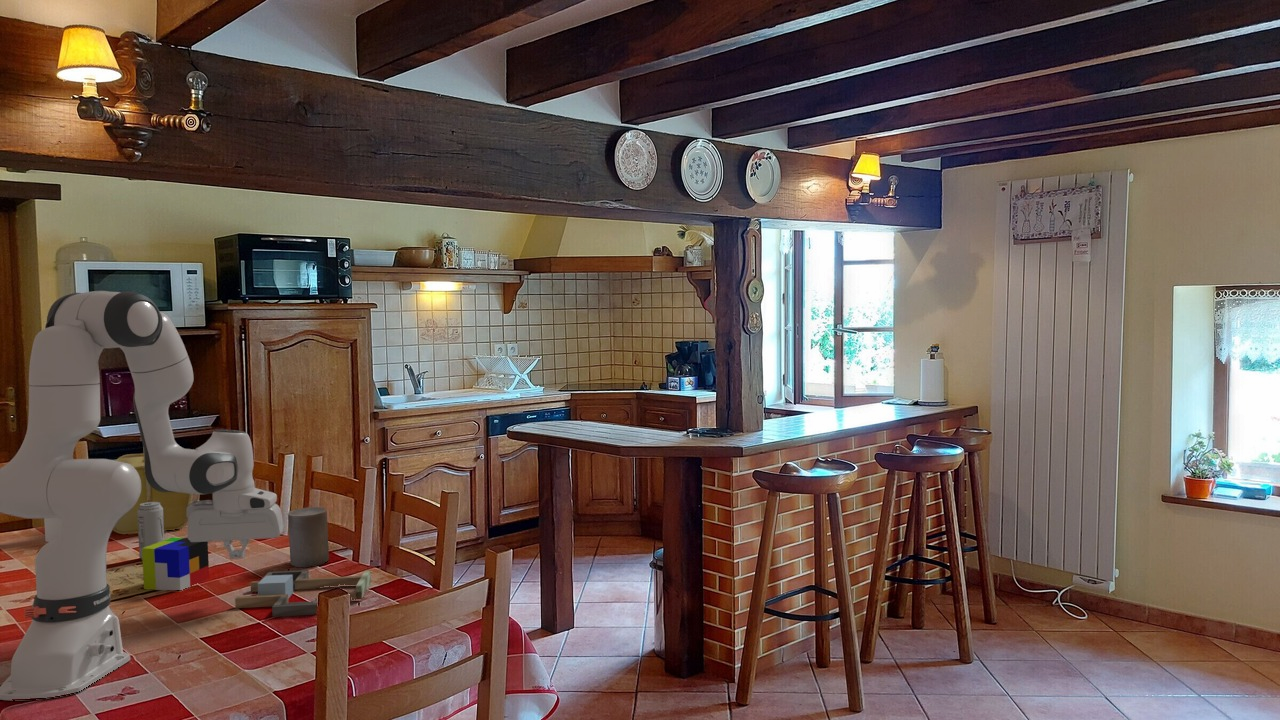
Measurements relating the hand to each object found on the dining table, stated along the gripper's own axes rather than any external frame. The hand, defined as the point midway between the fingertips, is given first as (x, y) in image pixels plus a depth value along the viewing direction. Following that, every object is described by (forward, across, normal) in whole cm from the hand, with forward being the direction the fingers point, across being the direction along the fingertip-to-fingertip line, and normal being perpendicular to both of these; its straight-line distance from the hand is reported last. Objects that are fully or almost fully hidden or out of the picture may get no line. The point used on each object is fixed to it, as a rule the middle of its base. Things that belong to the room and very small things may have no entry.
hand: (237, 558), depth 200 cm
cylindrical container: (+11, -70, +65) cm, 96 cm away
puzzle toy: (+10, -19, +14) cm, 26 cm away
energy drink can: (+11, -34, +38) cm, 52 cm away
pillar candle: (+10, +9, +27) cm, 31 cm away
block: (+10, +8, -1) cm, 13 cm away
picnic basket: (+12, -48, +80) cm, 94 cm away
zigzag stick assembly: (+10, +14, -1) cm, 17 cm away
